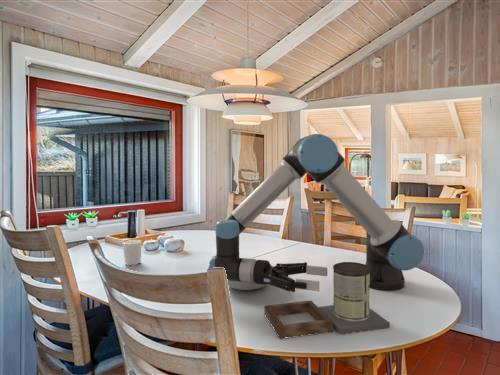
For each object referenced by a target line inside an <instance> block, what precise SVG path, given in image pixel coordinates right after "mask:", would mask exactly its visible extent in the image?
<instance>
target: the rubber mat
mask: <svg viewBox="0 0 500 375" xmlns="http://www.w3.org/2000/svg"><path fill="white" fill-rule="evenodd" d="M318 307H319V308H320V309H321V310H322V311H323V312H324V313H325V314H326V315H327V316H328V317H329V318H330V319H331V320H332V321H333V328H334V329H335V330H336V331H337V332H338V333H339V334H342V335H346V334H345V333H349V334H353V333H352V332H356V333H361V332H360V331H363V332H369V331H368V330H370V331H376V330H375V329H377V330H383V329H390V322H389V321H388V320H387V319H385V318H384V317H382V316H381V315H380V314H378V313H377V312H376V311H374V310H373V309H372V308H370V307H369V315H370V316H369V318H368V319H367V320H364V321H359V322H351V321H345V320H342V319H339V318H337V317H336V316H335V315H334V313H333V311H334V304H333V305H332V304H331V305H324V306H318ZM334 329H333V330H334ZM335 330H334V331H335ZM336 331H335V332H336ZM337 332H336V333H337ZM338 333H337V334H338ZM339 334H338V335H339Z"/></svg>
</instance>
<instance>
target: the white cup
mask: <svg viewBox="0 0 500 375" xmlns="http://www.w3.org/2000/svg"><path fill="white" fill-rule="evenodd" d="M122 248H123V258H124V264H125V263H126V264H128V265H127V266H129V265H133V264H138V263H140V264H141V262H142V261H141V260H142V240H140V239H139V240H138V239H131V240H130V239H129V240H126V241H123V242H122ZM138 265H139V264H138ZM133 266H134V265H133Z"/></svg>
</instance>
